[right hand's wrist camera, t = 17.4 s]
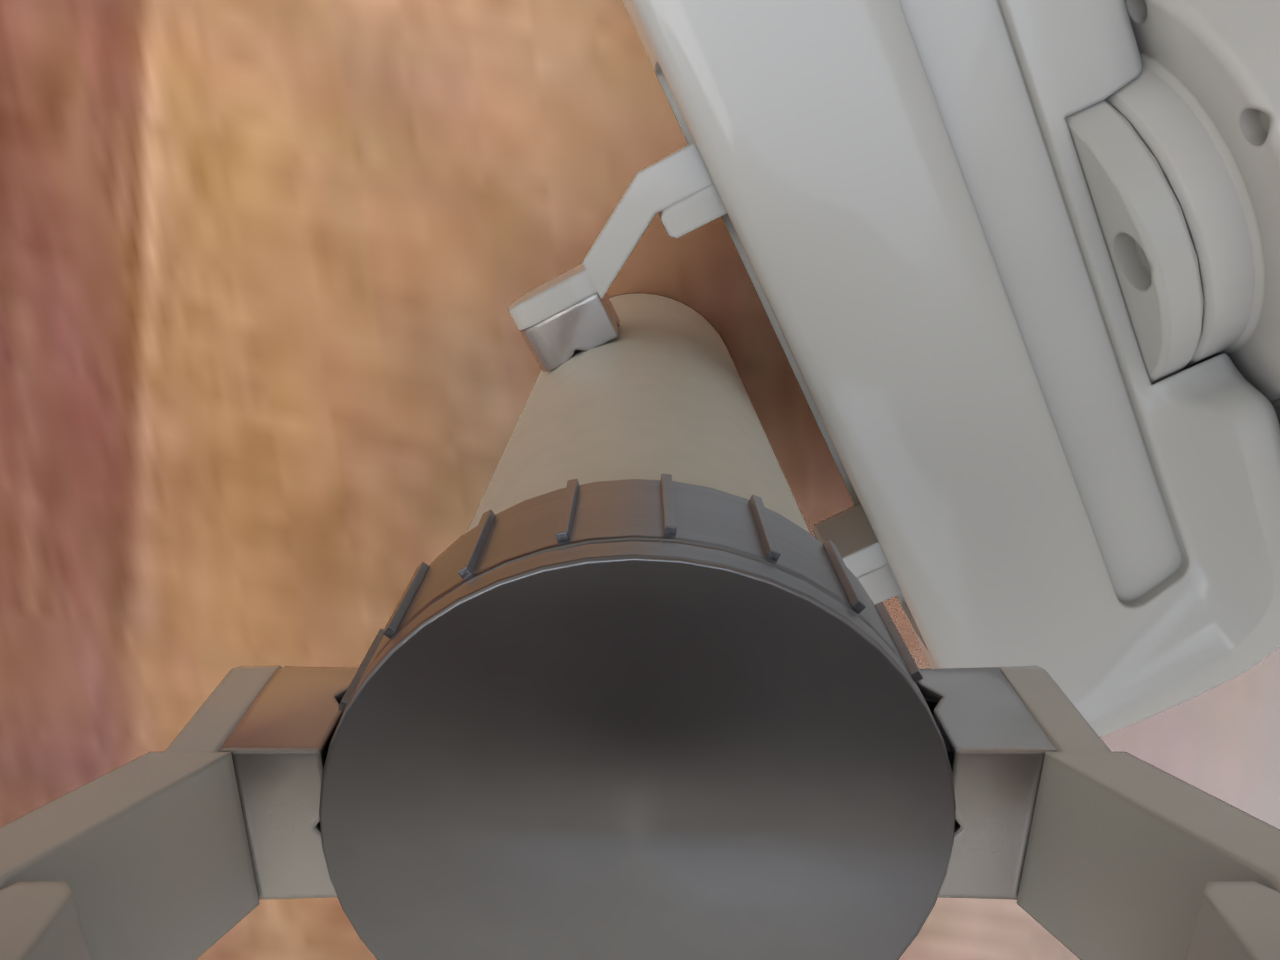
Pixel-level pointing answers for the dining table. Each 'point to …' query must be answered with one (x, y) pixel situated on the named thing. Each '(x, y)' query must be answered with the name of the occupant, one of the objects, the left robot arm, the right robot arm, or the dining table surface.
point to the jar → (642, 416)
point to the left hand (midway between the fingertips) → (603, 473)
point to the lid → (637, 745)
